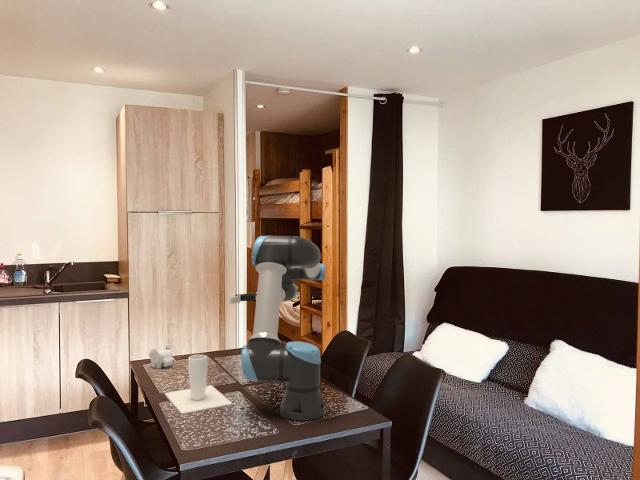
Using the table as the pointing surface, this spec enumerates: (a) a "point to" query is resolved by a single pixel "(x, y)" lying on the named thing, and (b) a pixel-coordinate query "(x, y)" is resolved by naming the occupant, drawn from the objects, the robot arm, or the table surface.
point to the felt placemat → (189, 406)
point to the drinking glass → (197, 376)
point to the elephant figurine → (161, 357)
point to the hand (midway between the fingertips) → (243, 302)
